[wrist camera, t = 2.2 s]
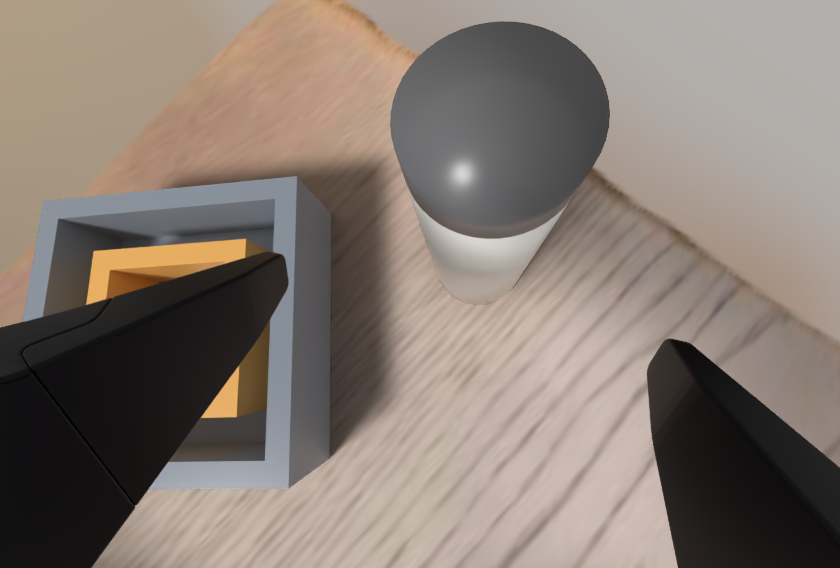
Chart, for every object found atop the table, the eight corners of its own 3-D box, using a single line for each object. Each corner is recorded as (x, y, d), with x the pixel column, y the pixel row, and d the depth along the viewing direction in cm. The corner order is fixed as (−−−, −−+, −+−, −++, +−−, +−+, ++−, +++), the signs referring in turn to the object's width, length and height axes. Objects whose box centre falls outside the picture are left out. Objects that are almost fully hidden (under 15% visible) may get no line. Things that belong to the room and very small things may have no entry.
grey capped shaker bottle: (524, 302, 19) (625, 204, 7) (438, 307, 20) (393, 223, 8) (516, 220, 20) (594, 8, 8) (434, 227, 21) (388, 36, 8)
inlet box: (329, 458, 19) (288, 488, 14) (96, 461, 20) (-6, 489, 16) (331, 213, 21) (296, 176, 17) (124, 231, 23) (43, 200, 18)
